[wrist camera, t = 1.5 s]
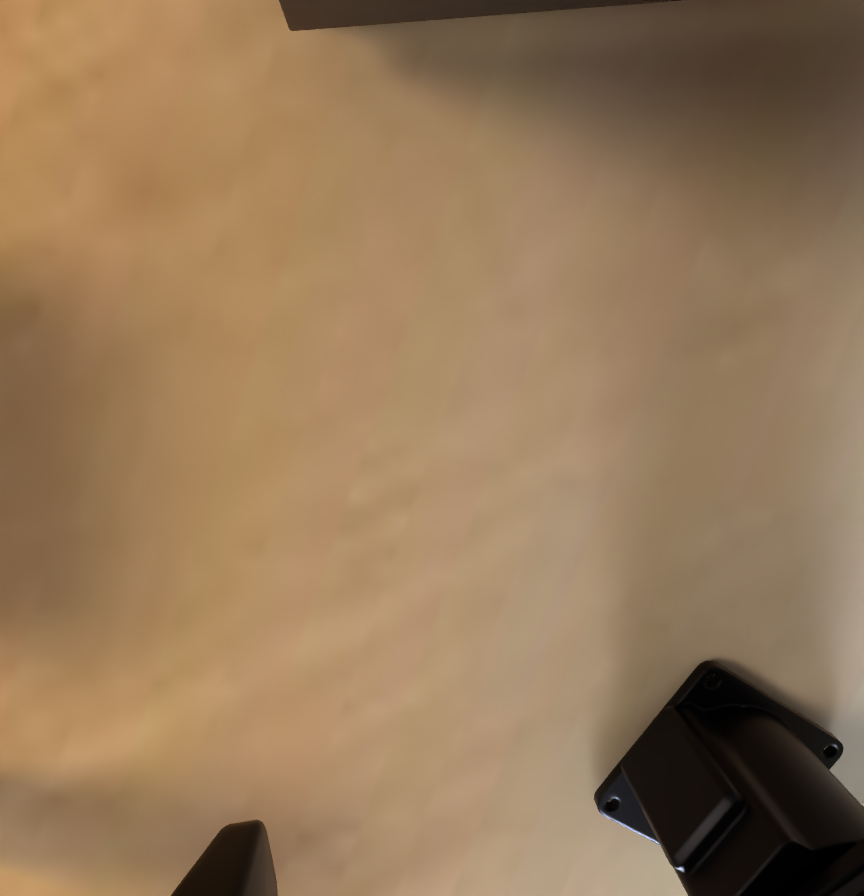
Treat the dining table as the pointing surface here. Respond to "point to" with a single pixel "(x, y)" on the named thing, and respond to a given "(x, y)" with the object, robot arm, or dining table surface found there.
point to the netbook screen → (418, 10)
